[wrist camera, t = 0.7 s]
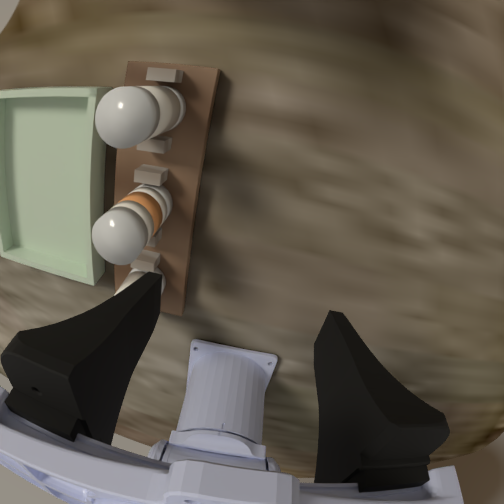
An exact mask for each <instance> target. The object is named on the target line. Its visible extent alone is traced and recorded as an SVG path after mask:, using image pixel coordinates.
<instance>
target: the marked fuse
mask: <svg viewBox="0 0 504 504" xmlns="http://www.w3.org/2000/svg"><path fill="white" fill-rule="evenodd" d="M172 207H173V201H172V197H171V194H170V192H169V191H168V190H167V189H166V188H165V187H164V186H163V185H161V186H156V185H150V184H144V183H142V184H141V185H139V186H138V187H137V188H135V189H134V190H133V191H132V192H130V193H129V194H128V195H127V196H125V197H124V198H123V199H122V200H120V201H119V202H118V203H117V204H116V205H114V206H113V207H112V208H111V209H110V210H108V211H107V212H106V213H105V214H104V215H103V216H101V217H100V218H99V219H98V220H97V221H96V222H95V224H94V226H93V229H92V240H93V244H94V246H95V248H96V250H97V252H98V253H99V254H100V255H101V256H102V257H103V258H104V259H105V260H107V261H108V262H110V263H113V264H116V265H127V264H130V263H132V262H133V261H134V260H135V259H136V258H137V257H138V256H139V254H140V253H141V252H142V250H143V249H144V247H145V246H146V245H147V243H148V242H149V241H150V239H151V238H152V237H153V235H154V234H155V233H156V232H157V230H158V229H159V228H160V226H161V225H162V224H163V222H164V221H165V220H166V219H167V217H168V216H169V215H170V213H171V211H172Z"/></svg>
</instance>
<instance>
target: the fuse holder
mask: <svg viewBox="0 0 504 504" xmlns="http://www.w3.org/2000/svg"><path fill="white" fill-rule="evenodd" d="M220 71H221V70H220V69H215V68H208V67H200V66H191V65H182V64H171V63H157V62H139V61H128V66H127V72H126V78H125V84H124V87H126V86H170V87H173V88H175V89H177V90H178V91H179V92H180V93H181V94H182V96H183V97H184V99H185V103H186V112H185V116H184V118H183V120H182V121H181V123H180V124H179V125H178V126H177V127H175V128H173V129H171V130H169V131H167V132H164V133H162V134H160V135H157V136H155V137H153V138H150V139H148V140H146V141H143V142H141V143H139V144H137V145H135V146H132V147H130V148H124V149H120V148H117V156H116V171H115V191H114V205H116V204H117V203H118V202H119V201H120V200H122V199H123V198H124V197H125V196H127V195H128V194H129V193H130V192H132V191H133V190H134V189H135V188H137V187H138V186H139V185H141V184H142V183H144V184H150V185H156V186H161V185H163V186H164V187H165V188H166V189H167V190H168V191H169V192H170V194H171V197H172V201H173V207H172V211H171V213H170V215H169V216H168V217H167V219H166V220H165V221H164V222H163V224H162V225H161V226H160V228H159V229H158V230H157V232H156V233H155V234H154V235H153V237H152V238H151V239H150V241H149V242H148V243H147V245H146V246H145V247H144V249H143V250H142V252H141V253H140V254H139V256H138V257H137V258H136V259H135V260H134V261H133V262H132V263H130V264H127V265H116V264H114V275H115V293H116V292H117V290H118V289H119V287H120V286H121V285H122V283H123V282H124V280H125V279H126V277H127V276H128V274H129V273H130V272H131V270H132V269H133V268H135V269H139V270H143V271H147V272H149V271H150V272H154V271H155V270H156V268H157V267H158V268H159V269H160V270H161V271H162V273H163V274H164V276H165V279H166V286H165V289H164V291H163V293H162V295H161V307H160V311H161V312H165V313H169V314H173V315H178V316H182V314H183V312H184V308H185V298H186V289H187V279H188V271H189V262H190V254H191V246H192V238H193V230H194V223H195V215H196V208H197V201H198V195H199V188H200V181H201V175H202V169H203V162H204V156H205V150H206V144H207V139H208V133H209V127H210V122H211V116H212V111H213V106H214V101H215V95H216V90H217V85H218V80H219V76H220Z"/></svg>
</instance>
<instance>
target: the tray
mask: <svg viewBox="0 0 504 504" xmlns="http://www.w3.org/2000/svg"><path fill="white" fill-rule="evenodd" d="M112 88H113V87H90V86H58V87H31V88H16V89H6V90H0V254H1V257H4V258H7V259H10V260H13V261H16V262H19V263H22V264H25V265H28V266H31V267H34V268H37V269H40V270H43V271H46V272H49V273H53V274H56V275H59V276H62V277H66V278H69V279H72V280H76V281H79V282H82V283H86V284H89V285H93V286H94V285H95V284H96V283H97V282H98V280H99V279H100V278H101V276H102V275H103V274H104V273H105V259H104V258H103V257H102V256H101V255H100V254H99V253H98V252H97V250H96V248H95V246H94V244H93V240H92V229H93V226H94V224H95V222H96V221H97V220H98V219H99V218H100V217H101V216H103V215H104V178H105V159H106V144H107V143H106V142H105V141H103V139H102V138H101V137H100V135H99V133H98V131H97V128H96V124H95V114H96V109H97V106H98V104H99V102H100V100H101V99H102V98H103V96H104V95H105V94H107V93H108V92H109V91H111V90H112Z"/></svg>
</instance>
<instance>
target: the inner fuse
mask: <svg viewBox="0 0 504 504" xmlns="http://www.w3.org/2000/svg"><path fill="white" fill-rule="evenodd" d="M146 273H147V271H143V270H139V269H135V268H133V269H132V270H131V272H130V273H129V274H128V276H127V277H126V279H125V280H124V282H123V283H122V285H121V286H120V287H119V289H118V290H117V292H116V293H115V295H116V294H118V293H119V292H120V291H122V290H123V289H125V288H126V287H128V286H129V285H130V284H132V283H133V282H135V281H136V280H137V279H139V278H140V277H141V276H143V275H144V274H146ZM154 273H158V274H162V288H161V295H162V293H163V291H164V289H165V286H166V279H165V276H164V274H163V273H162V271H161V270H160V269H159V268H158V267H157V268H156V270H155V271H154ZM115 295H114V296H115Z"/></svg>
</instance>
